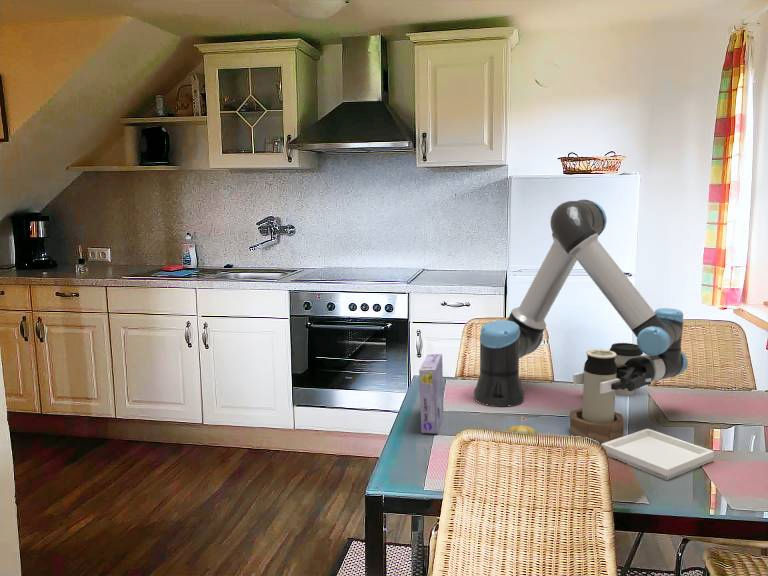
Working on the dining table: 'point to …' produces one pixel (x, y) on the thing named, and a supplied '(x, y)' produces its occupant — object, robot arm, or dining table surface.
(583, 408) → the travel mug
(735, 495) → the dining table surface
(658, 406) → the dining table surface
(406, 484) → the dining table surface
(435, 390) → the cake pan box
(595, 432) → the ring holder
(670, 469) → the tray
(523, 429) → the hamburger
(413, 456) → the dining table surface
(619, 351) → the coffee cup
